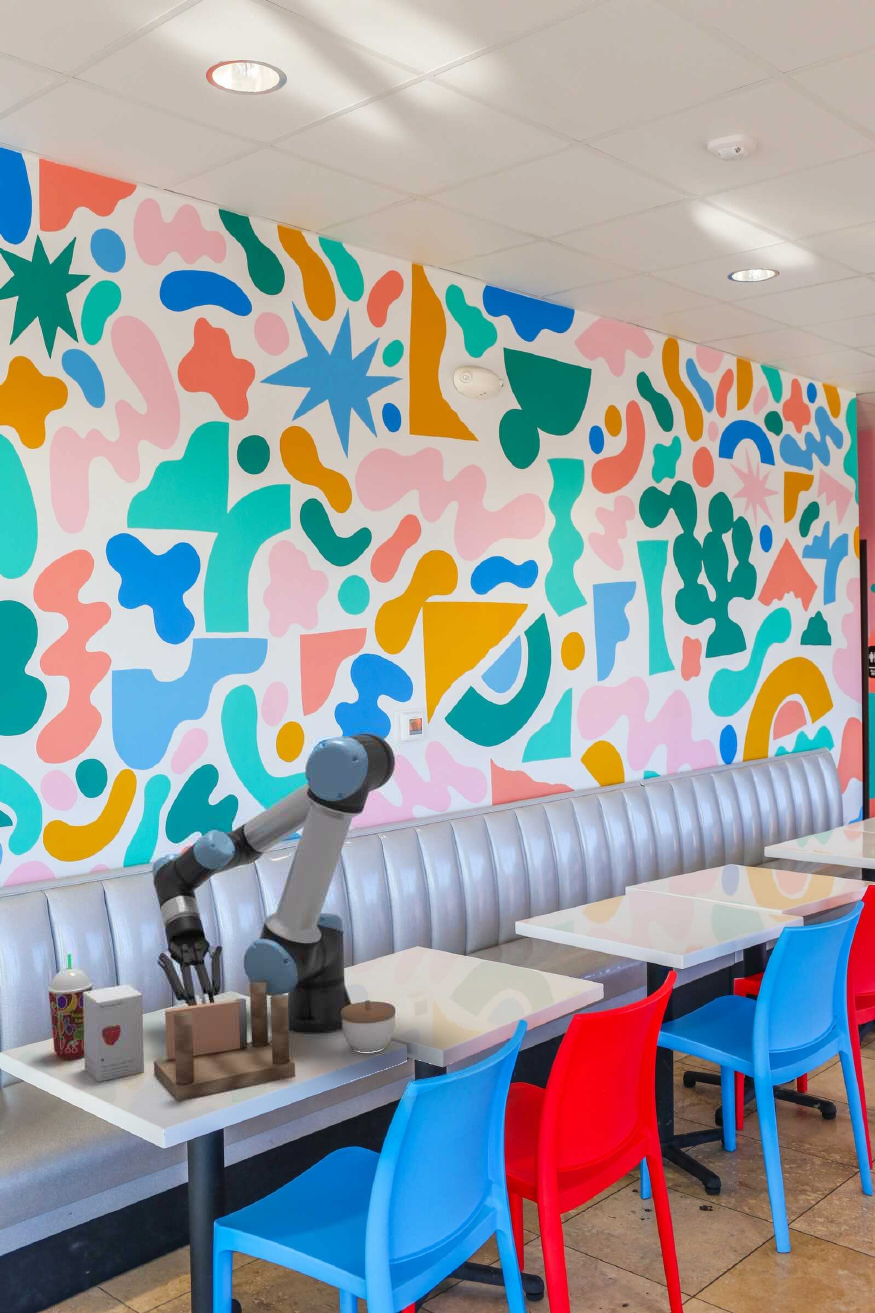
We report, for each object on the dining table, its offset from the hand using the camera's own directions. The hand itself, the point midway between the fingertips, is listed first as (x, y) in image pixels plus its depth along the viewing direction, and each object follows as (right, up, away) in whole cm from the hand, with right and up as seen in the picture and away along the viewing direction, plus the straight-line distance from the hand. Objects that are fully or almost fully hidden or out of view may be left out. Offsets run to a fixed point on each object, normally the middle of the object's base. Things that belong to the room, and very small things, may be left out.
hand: (207, 1028), depth 224 cm
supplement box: (-17, -7, -3) cm, 19 cm away
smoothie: (-28, -8, +7) cm, 30 cm away
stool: (+5, -6, -7) cm, 11 cm away
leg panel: (+1, -4, -2) cm, 4 cm away
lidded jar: (+31, -6, +5) cm, 32 cm away
